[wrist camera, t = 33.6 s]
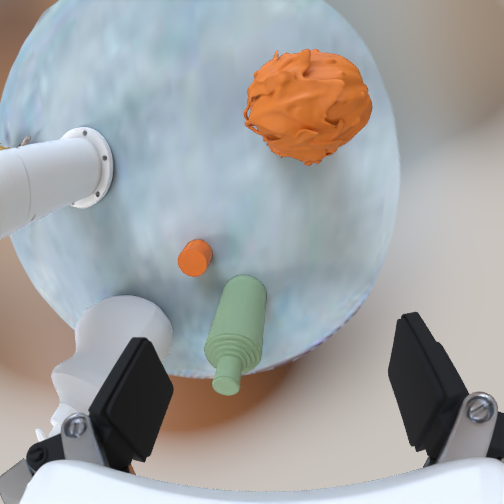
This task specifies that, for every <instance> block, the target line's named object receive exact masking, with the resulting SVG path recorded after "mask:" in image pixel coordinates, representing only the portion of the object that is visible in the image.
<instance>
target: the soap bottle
mask: <svg viewBox="0 0 504 504" xmlns="http://www.w3.org/2000/svg"><path fill="white" fill-rule="evenodd" d="M133 337H146V338H147V339H148V340H149V341H151V342H152V344H153V346H154V348H155V350H156V352H157V354H158V356H159V358H160V361H161V363H162V362H163V361H164V359H165V358H166V357H167V356H168V355H169V353H170V352H171V351H172V339H173V328H172V325H171V323H170V320H169V319H168V318H167V316H166V315H165V314H164V313H163V311H162V310H161V309H160V308H159V307H158V306H157V305H156V304H154V303H153V302H151V301H149V300H146V299H144V298H141V297H137V296H132V295H123V296H113V297H107V298H105V299H103V300H101V301H99V302H97V303H95V304H94V305H92V306H90V307H89V308H87V309H86V310H85V311H84V312H83V313H82V315H81V317H80V319H79V321H78V323H77V325H76V327H75V339H76V352H75V354H74V355H73V356H72V358H71V359H68V360H66V361H64V362H62V363H60V364H59V365H57V366H56V367H55V368H54V370H53V372H52V381H53V384H54V387H55V389H56V391H57V393H58V395H59V397H60V405H59V406H58V408H57V410H56V411H55V413H54V414H53V416H52V418H51V419H50V422H51V424H52V425H53V426H54V427H53V429H52V431H51V432H50V434H49V436H48V437H47V436H46V435H45V433H44V432H43V431H42V430H40V429H39V428H36V435H37V438H38V441H39V442H41V441H43V440H45V439H48V438H50V437H53V436H55V435H57V434H60V433H61V425H62V423H63V421H64V420H65V419H66V418H67V417H68V416H69V415H71V414H73V413H84V414H86V415H87V416H88V415H89V411H88V409H89V407H90V405H91V404H92V402H93V400H94V399H95V397H96V395H97V393H98V392H99V390H100V388H101V387H102V385H103V383H104V382H105V380H106V378H107V377H108V375H109V373H110V372H111V370H112V368H113V367H114V365H115V363H116V362H117V360H118V359H119V357H120V355H121V354H122V352H123V351H124V349H125V347H126V346H127V344H128V343H129V341H130V340H131V338H133Z"/></svg>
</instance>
